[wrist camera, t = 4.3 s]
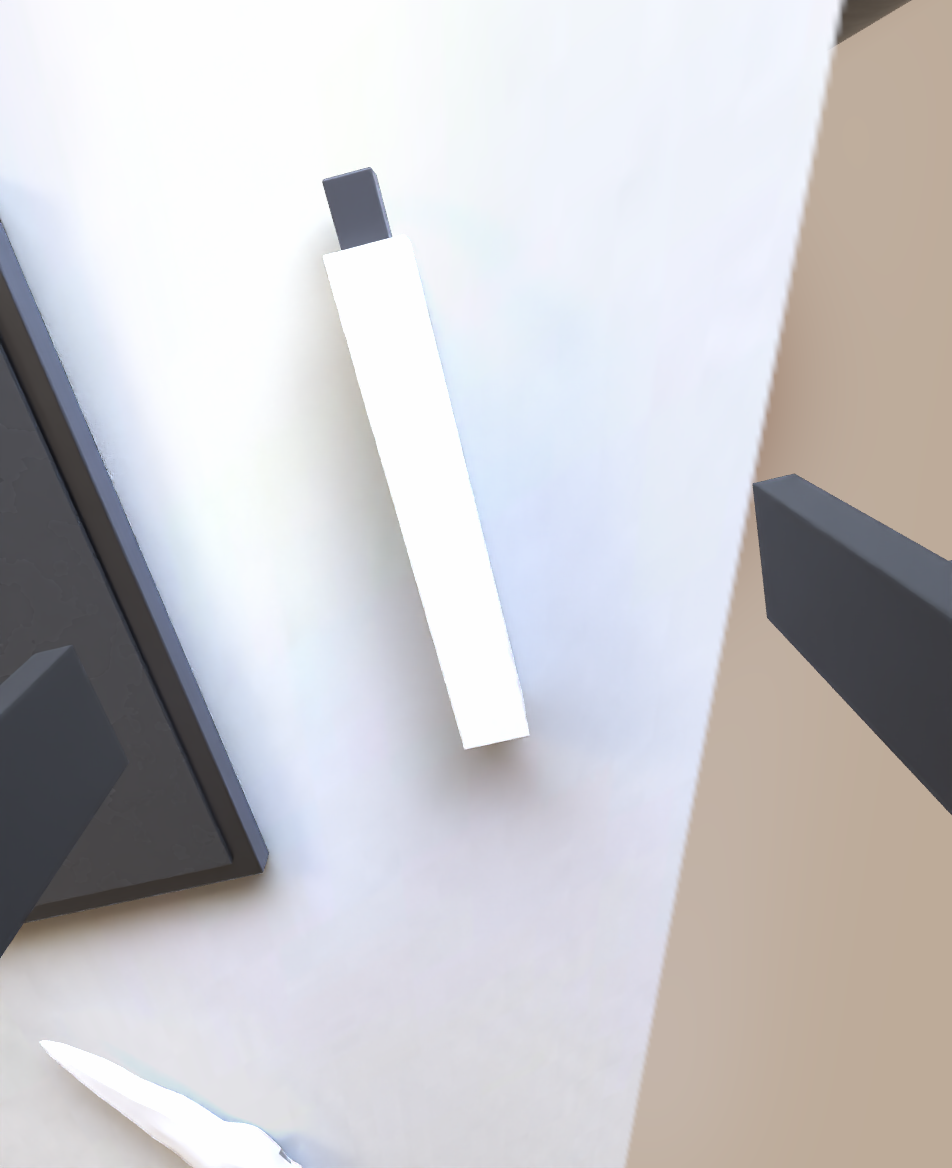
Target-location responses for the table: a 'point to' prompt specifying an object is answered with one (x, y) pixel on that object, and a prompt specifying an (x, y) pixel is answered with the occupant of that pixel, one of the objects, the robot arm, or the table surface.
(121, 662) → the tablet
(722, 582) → the table surface
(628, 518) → the table surface
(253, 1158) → the white tapered piece
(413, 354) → the white rectangular bar
